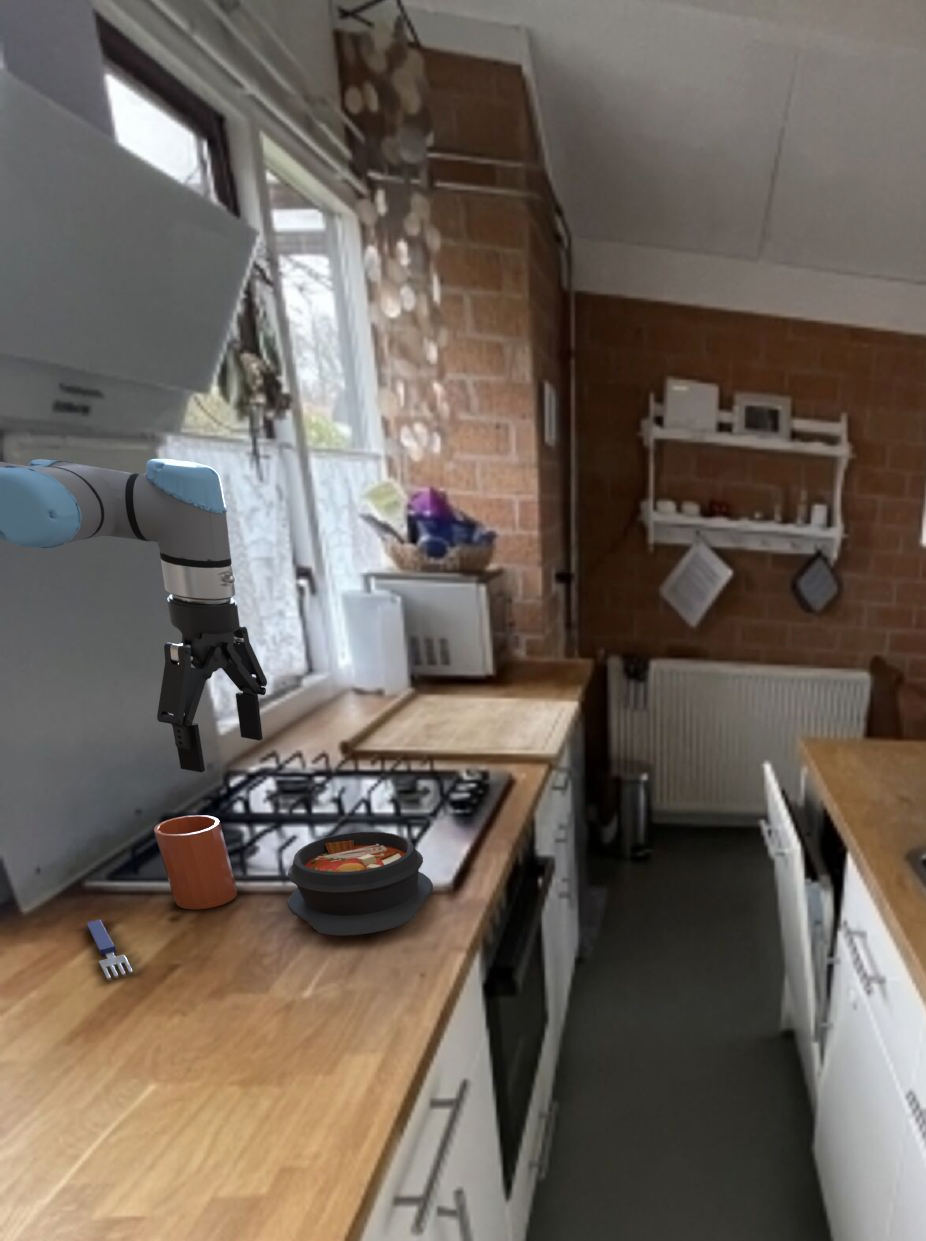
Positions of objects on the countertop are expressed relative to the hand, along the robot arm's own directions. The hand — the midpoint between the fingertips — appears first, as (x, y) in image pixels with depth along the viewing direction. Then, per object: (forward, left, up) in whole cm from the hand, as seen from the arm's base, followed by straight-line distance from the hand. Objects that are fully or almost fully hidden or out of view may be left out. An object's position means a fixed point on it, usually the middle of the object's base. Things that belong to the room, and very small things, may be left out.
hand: (223, 753), depth 121 cm
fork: (+13, -20, -19) cm, 30 cm away
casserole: (+20, +9, -19) cm, 29 cm away
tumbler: (+5, -7, -19) cm, 20 cm away
